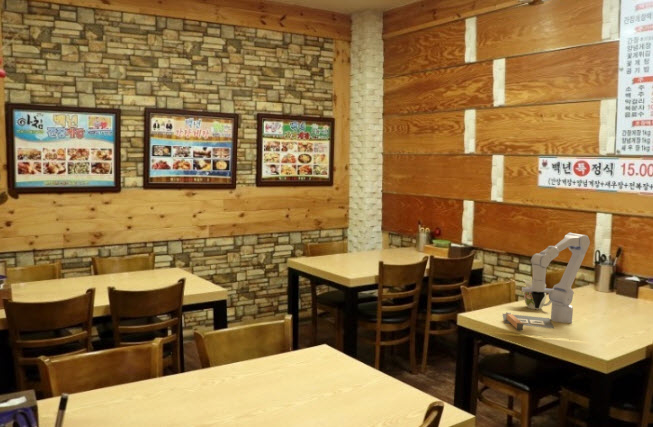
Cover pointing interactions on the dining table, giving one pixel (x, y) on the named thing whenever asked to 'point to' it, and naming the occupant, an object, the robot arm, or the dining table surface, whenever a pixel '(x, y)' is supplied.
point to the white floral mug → (529, 298)
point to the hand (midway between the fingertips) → (536, 307)
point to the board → (546, 320)
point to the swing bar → (515, 321)
